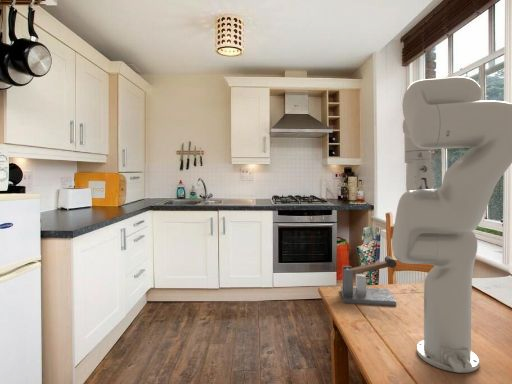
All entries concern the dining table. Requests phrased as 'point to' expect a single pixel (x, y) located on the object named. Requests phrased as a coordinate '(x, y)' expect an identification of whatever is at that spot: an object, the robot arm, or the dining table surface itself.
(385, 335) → the dining table surface
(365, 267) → the lever
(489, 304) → the dining table surface
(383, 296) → the base
